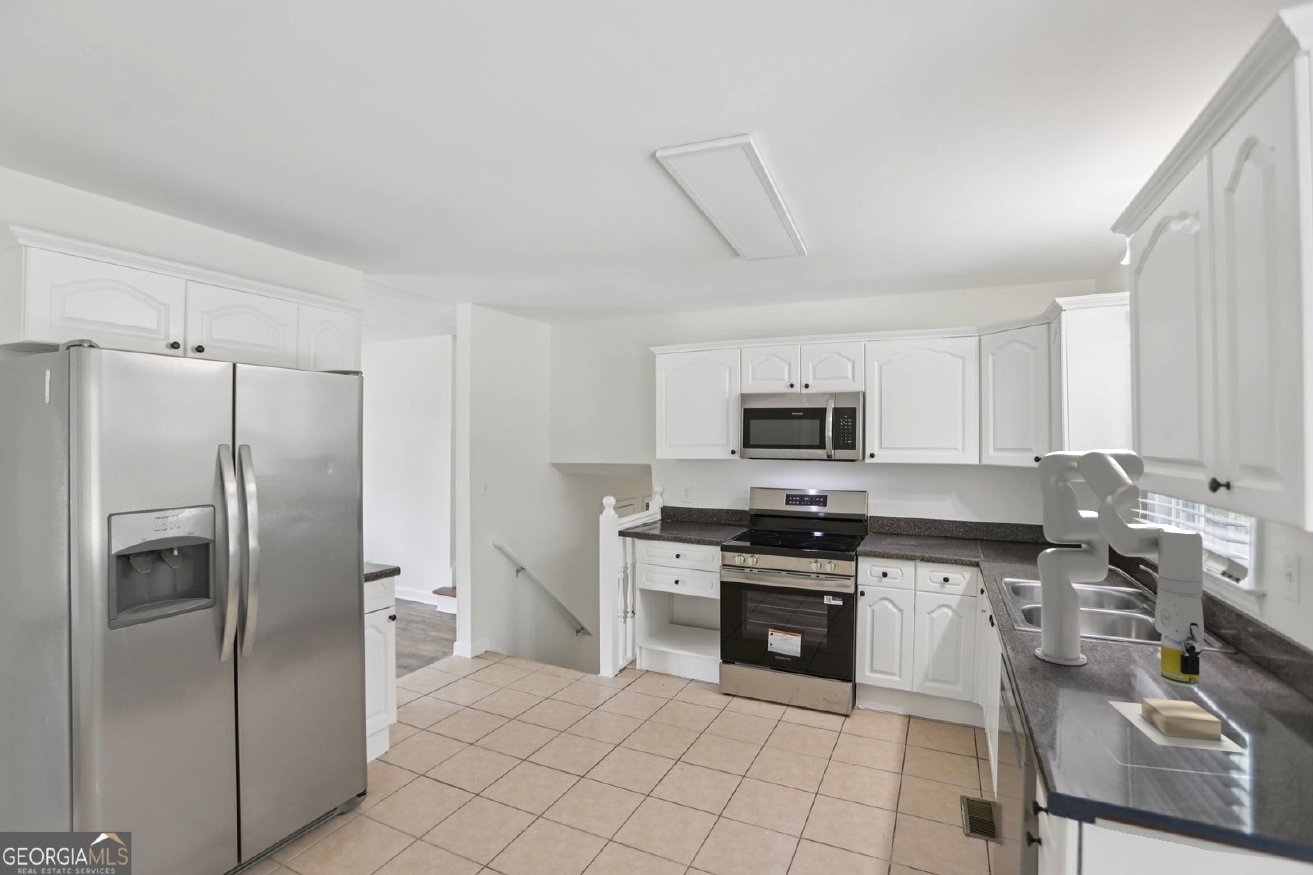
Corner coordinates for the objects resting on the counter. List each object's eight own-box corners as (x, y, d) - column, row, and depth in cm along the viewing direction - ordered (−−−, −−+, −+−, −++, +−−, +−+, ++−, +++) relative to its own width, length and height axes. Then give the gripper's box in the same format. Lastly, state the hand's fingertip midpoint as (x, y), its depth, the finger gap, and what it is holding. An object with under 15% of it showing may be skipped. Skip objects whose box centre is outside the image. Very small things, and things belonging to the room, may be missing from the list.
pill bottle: (1184, 689, 135) (1184, 634, 135) (1153, 678, 141) (1153, 625, 141) (1207, 686, 136) (1207, 632, 136) (1175, 675, 143) (1175, 623, 143)
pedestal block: (1141, 715, 145) (1141, 697, 145) (1192, 719, 142) (1192, 701, 142) (1166, 735, 135) (1166, 716, 135) (1221, 740, 133) (1221, 721, 133)
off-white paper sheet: (1107, 702, 152) (1107, 700, 152) (1184, 708, 149) (1184, 707, 149) (1157, 746, 131) (1157, 744, 131) (1248, 754, 127) (1248, 753, 127)
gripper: (1139, 577, 148) (1139, 653, 148) (1183, 594, 131) (1183, 681, 131) (1176, 578, 146) (1177, 656, 146) (1225, 596, 129) (1226, 684, 129)
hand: (1180, 667), depth 138 cm, fingers closed on pill bottle, 6 cm apart
